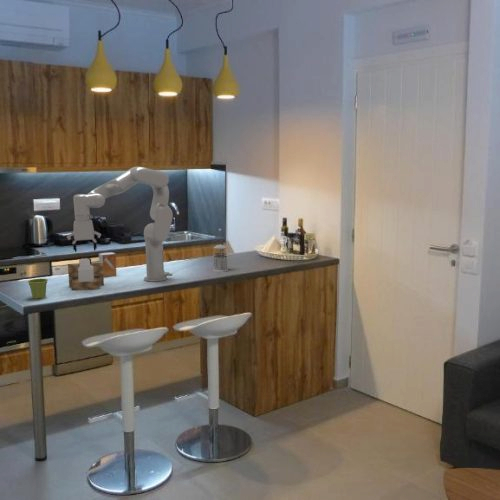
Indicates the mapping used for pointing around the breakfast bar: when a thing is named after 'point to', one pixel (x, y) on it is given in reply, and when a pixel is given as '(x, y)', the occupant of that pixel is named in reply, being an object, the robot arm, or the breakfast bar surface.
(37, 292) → the plant pot
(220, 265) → the french press
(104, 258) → the small box
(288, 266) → the breakfast bar surface
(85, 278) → the medicine bottle
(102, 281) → the wooden crate
